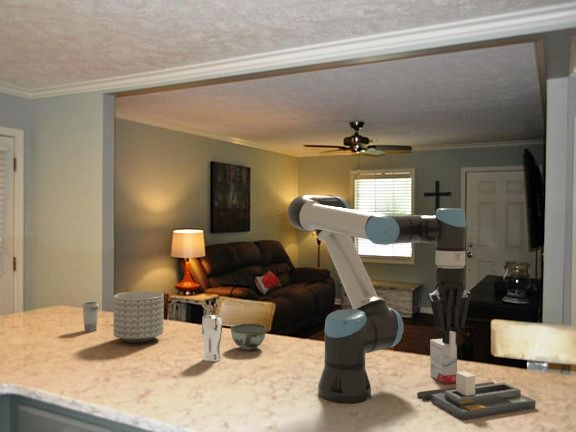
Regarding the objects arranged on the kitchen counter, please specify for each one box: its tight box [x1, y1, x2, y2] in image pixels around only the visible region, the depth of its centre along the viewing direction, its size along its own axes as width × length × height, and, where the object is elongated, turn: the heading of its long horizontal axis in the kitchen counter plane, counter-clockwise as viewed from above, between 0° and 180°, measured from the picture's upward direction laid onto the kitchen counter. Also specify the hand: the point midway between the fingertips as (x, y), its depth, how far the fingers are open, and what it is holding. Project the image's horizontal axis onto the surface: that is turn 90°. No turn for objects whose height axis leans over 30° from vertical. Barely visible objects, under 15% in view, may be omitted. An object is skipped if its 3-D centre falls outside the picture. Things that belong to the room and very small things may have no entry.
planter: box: [113, 290, 165, 344], centre depth 204 cm, size 19×19×18 cm
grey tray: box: [430, 382, 536, 421], centre depth 141 cm, size 24×13×4 cm, turn 111°
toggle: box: [455, 370, 476, 397], centre depth 139 cm, size 4×4×7 cm
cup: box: [81, 300, 100, 333], centre depth 219 cm, size 7×7×12 cm
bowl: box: [229, 323, 267, 352], centre depth 194 cm, size 14×13×8 cm
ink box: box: [429, 338, 458, 385], centre depth 161 cm, size 9×5×12 cm, turn 13°
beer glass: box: [201, 314, 223, 363], centre depth 180 cm, size 7×7×15 cm
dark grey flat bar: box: [416, 381, 496, 401], centre depth 150 cm, size 27×4×1 cm, turn 111°
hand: (449, 355), depth 136 cm, fingers closed
